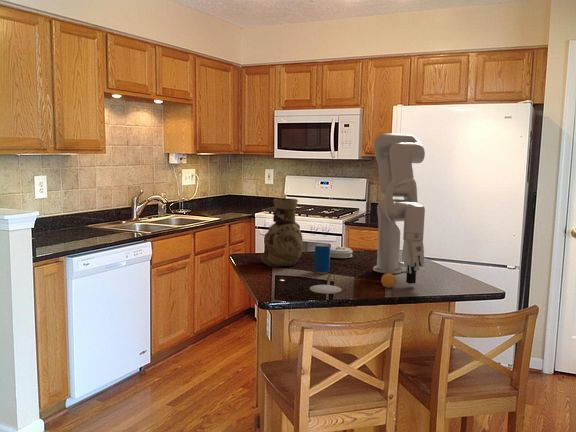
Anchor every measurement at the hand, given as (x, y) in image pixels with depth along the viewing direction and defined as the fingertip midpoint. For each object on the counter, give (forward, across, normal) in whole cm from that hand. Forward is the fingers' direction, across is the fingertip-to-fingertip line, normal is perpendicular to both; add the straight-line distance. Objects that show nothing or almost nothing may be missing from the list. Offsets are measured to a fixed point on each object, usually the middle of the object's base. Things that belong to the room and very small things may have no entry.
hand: (410, 282), depth 200 cm
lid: (+2, +59, +10) cm, 60 cm away
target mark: (+2, 0, +34) cm, 34 cm away
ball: (-1, 0, +9) cm, 9 cm away
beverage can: (+2, +27, +28) cm, 39 cm away
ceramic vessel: (+2, +45, +42) cm, 62 cm away
